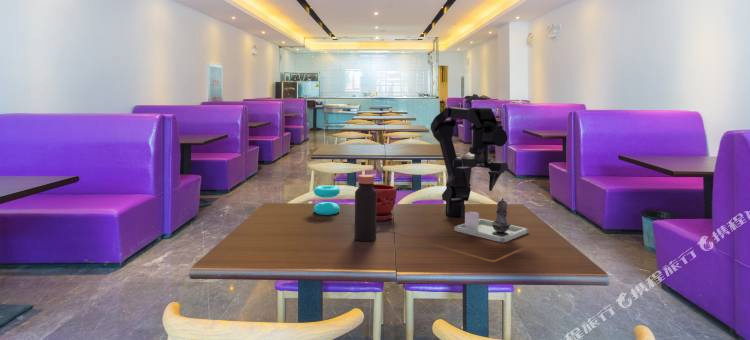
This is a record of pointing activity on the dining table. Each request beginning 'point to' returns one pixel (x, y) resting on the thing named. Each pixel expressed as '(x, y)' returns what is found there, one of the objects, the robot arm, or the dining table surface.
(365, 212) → the bottle
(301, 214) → the dining table surface
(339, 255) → the dining table surface
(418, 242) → the dining table surface
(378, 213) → the plant pot
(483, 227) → the tray
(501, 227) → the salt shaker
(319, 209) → the donuts
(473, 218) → the white smooth curved piece
